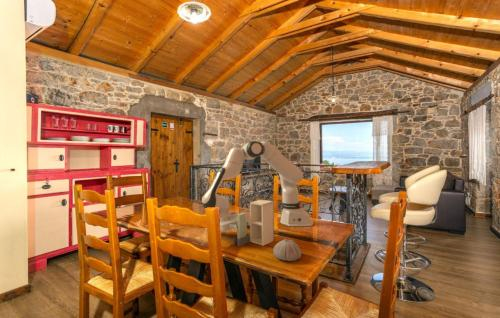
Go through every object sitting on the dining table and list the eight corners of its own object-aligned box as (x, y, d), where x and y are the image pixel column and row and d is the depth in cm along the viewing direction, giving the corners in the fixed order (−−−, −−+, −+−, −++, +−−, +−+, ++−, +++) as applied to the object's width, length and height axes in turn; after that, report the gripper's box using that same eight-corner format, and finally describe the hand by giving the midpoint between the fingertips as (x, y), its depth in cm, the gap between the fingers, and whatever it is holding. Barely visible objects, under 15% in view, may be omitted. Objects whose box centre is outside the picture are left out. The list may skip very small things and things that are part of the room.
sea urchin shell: (284, 249, 129) (284, 233, 129) (307, 256, 120) (307, 240, 119) (267, 257, 119) (267, 240, 119) (291, 266, 110) (291, 248, 110)
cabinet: (232, 244, 136) (232, 203, 135) (255, 235, 150) (254, 198, 149) (252, 250, 127) (251, 207, 126) (274, 240, 141) (273, 201, 141)
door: (236, 243, 138) (235, 214, 137) (244, 240, 142) (243, 211, 142) (240, 244, 136) (239, 215, 135) (247, 241, 141) (247, 212, 140)
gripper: (211, 219, 138) (229, 224, 129) (237, 212, 154) (254, 215, 145) (211, 230, 139) (229, 236, 130) (237, 222, 154) (255, 226, 145)
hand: (243, 225), depth 137 cm, fingers open, 8 cm apart
